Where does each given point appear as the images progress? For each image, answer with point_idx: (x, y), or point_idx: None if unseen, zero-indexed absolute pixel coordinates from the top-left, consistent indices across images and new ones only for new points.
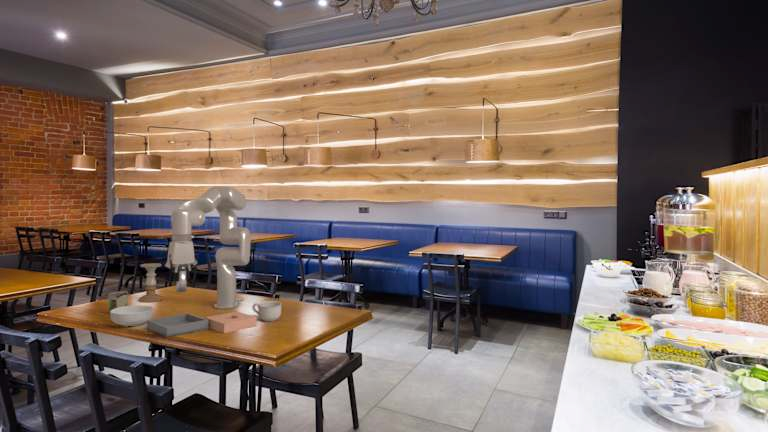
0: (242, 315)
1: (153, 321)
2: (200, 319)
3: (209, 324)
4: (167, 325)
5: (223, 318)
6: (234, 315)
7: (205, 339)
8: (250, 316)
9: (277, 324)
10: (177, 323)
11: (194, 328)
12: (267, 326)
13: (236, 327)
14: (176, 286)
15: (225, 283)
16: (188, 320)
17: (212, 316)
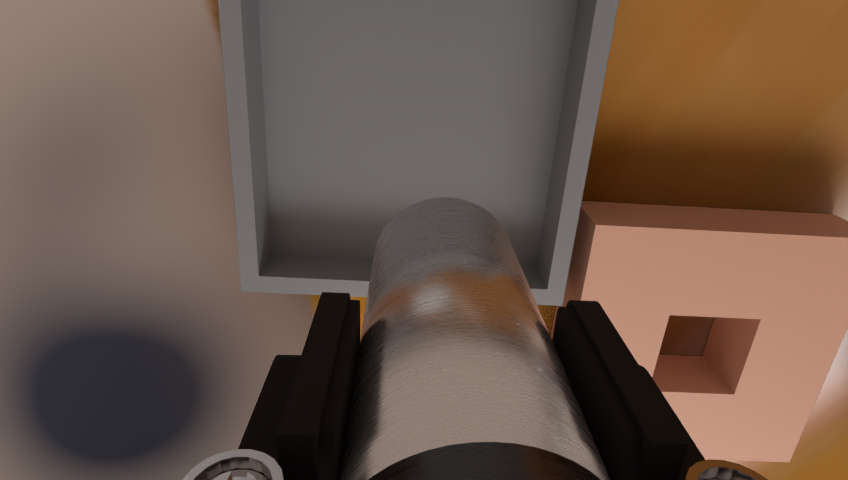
0: (786, 372)
1: (239, 14)
2: (555, 221)
3: (571, 273)
4: (379, 13)
5: (650, 347)
6: (760, 333)
7: None
8: (786, 426)
9: (836, 471)
10: (468, 18)
11: None
12: (773, 463)
13: None
14: (369, 284)
15: None
16: (577, 9)
17: (652, 243)
